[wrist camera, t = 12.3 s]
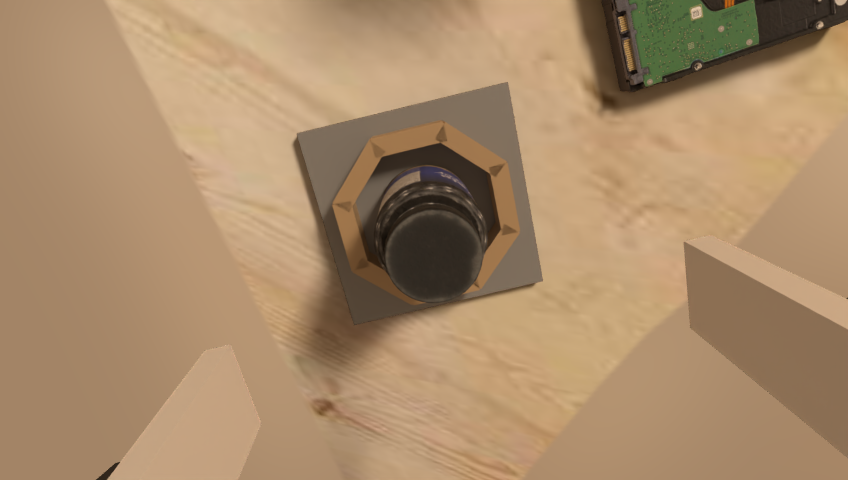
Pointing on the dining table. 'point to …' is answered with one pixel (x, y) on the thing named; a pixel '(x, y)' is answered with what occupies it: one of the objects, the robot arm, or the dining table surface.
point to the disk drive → (703, 33)
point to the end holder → (410, 146)
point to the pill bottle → (430, 234)
